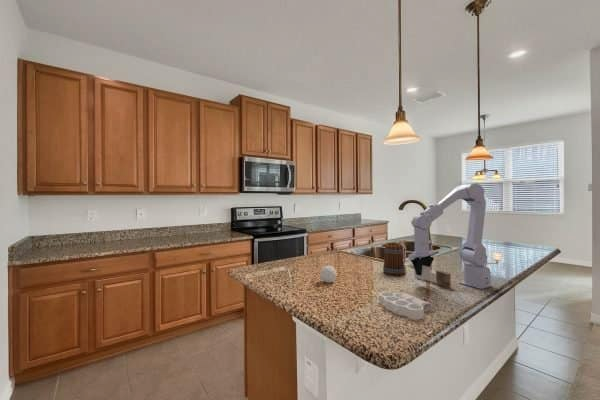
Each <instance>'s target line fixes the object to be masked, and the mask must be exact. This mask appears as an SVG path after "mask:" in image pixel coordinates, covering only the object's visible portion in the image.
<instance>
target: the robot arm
mask: <svg viewBox="0 0 600 400" xmlns="http://www.w3.org/2000/svg"><path fill="white" fill-rule="evenodd" d="M458 200H463V201H465V202H466V204H468V205H469V206H470V210H469V217H468V220H469V221H468V226H467V227H468V228H467V236H466V241H465V242H464V243H463V244H462V247H461V249H460V250H459V251H460V252H459V257H460V259H461V260H462V263H463V280H462V281H459V284H462V285H464V286H469V287H473V288H476V289H480V290H484V289H487V288H490V287H493V285H492V283H491V282H492V281H491V280H492V279H491V274H492V272H491V269H490V267H488V266H486V265H485V264H486V263H487V262H488V261H487V260H488V255H487V248H486V246H484V244H483V234H484V223H485V216H486V209H487V208H486V206H487V202H486V201H487V200H486V196H485V189H484V187H482V186H481V184H479V183H475V182H474V183H468V184H467V183H466V184H461V183H460V184H459V185H457V186H456V187H454V188H453V189H452V191H450V192H449V193H448V194H447V195H446V196H445V197H444V198H442V199H441V200H440V201H439V202H438V203H432V204H431V203H430V204H428V206H427V207H426V209H425V210H423V211H420V213H419V214H416V215H414V216H413V218H412V220H411V221H410V223H411V226H413V229H414V230H413V234H414V235H413V236H414V237H413V238H414V244H413V245H414V251H412V253H410V254H408V255H407V256H408V257H407V258H408V260H410V262H411V264H412V266H413V269H414V268H415V271H416V275H420V276H421V274H422V265H424V266H429V267H430V268H431V267H432V263H433V261H434V260H435V258H434V257H435V255H436V252H435V250H430V235H429V233H430V232H429V229H430V228H431V226H432V223H433V222H434V221H435V220H437V219H438V218H439V217H441V216H442V215H443V214H444V210H445V209H446V208H448V207H449V206H452V204H454V203H455V202H457V201H458Z"/></svg>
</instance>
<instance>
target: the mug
mask: <svg viewBox="0 0 600 400" xmlns="http://www.w3.org/2000/svg"><path fill="white" fill-rule="evenodd" d="M383 250H384V251H383V252H384V254H383V255H384V256H383V257H384V258H383V266H382V267H383V268H382V270H383V273H384V274H386V275H388V276H394V277H395V276H396V277H397V276H398V277H400V276H403V275H405V273H406V267H405V262H404V249H403V244H402V243H401V242H398V241H395V242H386V243H385V244H384V249H383Z"/></svg>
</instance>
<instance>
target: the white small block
mask: <svg viewBox="0 0 600 400" xmlns="http://www.w3.org/2000/svg"><path fill="white" fill-rule="evenodd" d="M430 271H431V266H430V267H429V266H424V265H422V274H421V276H420V275H416V271H415V268H414V267H413V276H414V278H415V279H420V280H423V281H425V280H427V279H431V277H430ZM427 281H428V280H427Z"/></svg>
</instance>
